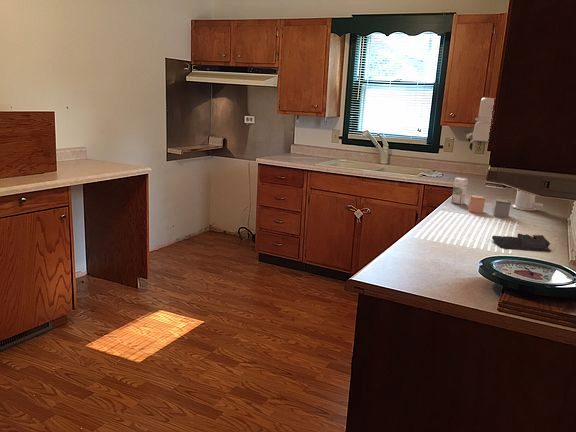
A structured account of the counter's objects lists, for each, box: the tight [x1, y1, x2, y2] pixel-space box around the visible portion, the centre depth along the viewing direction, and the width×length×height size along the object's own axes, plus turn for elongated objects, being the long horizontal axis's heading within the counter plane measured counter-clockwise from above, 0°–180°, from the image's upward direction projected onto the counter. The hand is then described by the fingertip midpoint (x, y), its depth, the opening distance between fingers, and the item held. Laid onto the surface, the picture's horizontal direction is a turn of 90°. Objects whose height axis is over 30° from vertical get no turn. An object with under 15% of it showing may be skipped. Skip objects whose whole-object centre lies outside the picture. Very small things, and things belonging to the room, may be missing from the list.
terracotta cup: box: [467, 194, 486, 214], centre depth 268 cm, size 7×7×8 cm
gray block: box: [492, 198, 512, 219], centre depth 261 cm, size 7×7×8 cm
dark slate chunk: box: [491, 233, 552, 253], centre depth 208 cm, size 15×22×5 cm
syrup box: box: [451, 177, 469, 205], centre depth 286 cm, size 6×6×14 cm
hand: (479, 151), depth 285 cm, fingers open, 9 cm apart
